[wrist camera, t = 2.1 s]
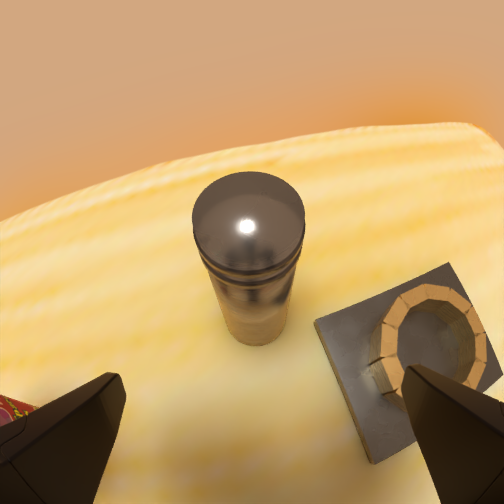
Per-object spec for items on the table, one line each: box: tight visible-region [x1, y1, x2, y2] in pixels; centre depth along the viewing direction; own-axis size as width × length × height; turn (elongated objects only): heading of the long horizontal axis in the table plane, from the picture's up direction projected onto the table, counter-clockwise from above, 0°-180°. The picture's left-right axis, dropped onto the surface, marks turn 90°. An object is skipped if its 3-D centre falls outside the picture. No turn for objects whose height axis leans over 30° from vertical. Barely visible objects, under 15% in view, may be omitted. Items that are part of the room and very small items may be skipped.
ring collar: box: [314, 262, 503, 464], centre depth 19 cm, size 14×12×4 cm
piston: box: [192, 172, 305, 346], centre depth 18 cm, size 5×5×13 cm
